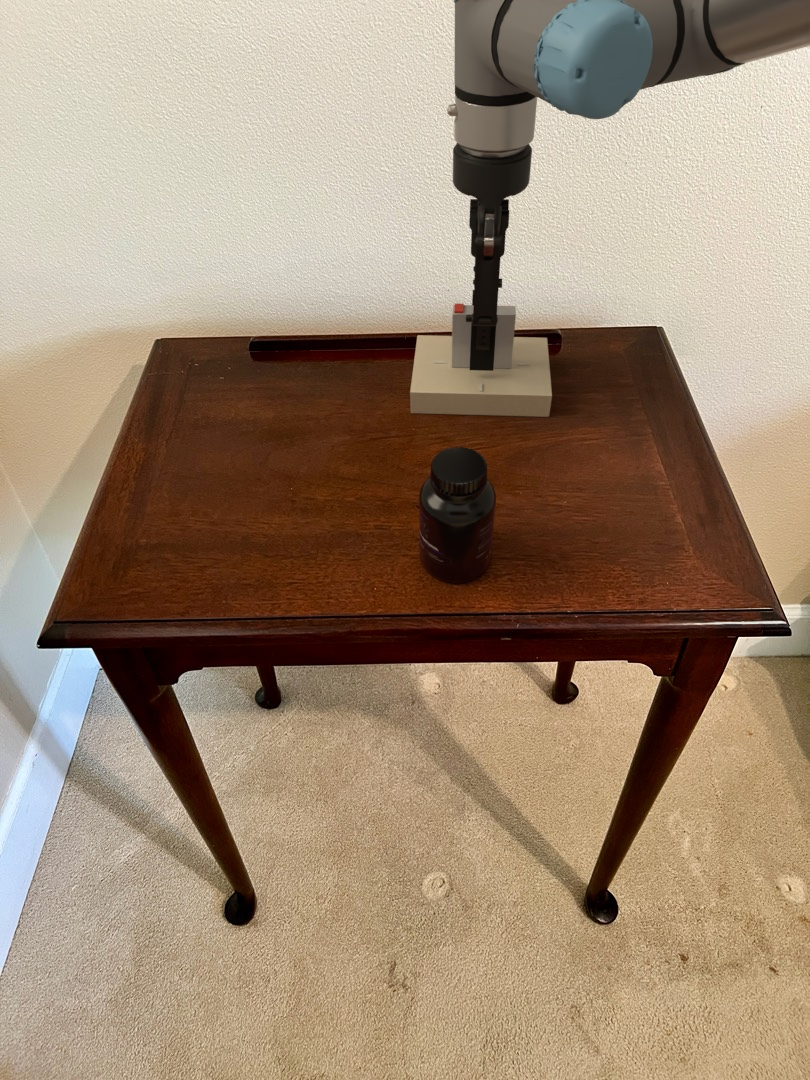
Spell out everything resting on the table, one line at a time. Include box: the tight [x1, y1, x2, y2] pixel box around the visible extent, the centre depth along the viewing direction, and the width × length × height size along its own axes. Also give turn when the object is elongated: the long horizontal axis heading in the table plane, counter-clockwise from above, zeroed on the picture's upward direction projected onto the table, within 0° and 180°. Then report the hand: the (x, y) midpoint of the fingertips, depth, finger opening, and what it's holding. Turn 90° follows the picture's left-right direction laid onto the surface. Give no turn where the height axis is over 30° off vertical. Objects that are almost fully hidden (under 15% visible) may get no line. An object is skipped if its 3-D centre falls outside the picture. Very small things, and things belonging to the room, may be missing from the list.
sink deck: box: [409, 334, 553, 418], centre depth 91 cm, size 16×12×3 cm
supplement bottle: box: [418, 446, 497, 584], centre depth 68 cm, size 7×7×12 cm
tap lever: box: [451, 303, 517, 369], centre depth 87 cm, size 7×2×7 cm, turn 85°
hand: (481, 354), depth 89 cm, fingers open, 5 cm apart
